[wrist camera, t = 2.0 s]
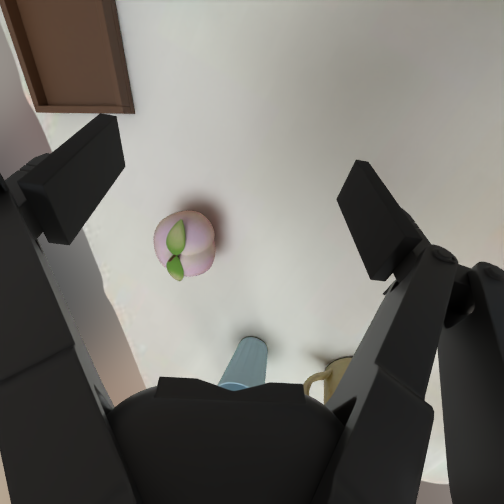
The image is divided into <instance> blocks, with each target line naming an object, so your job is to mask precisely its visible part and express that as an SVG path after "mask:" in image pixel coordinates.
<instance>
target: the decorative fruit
mask: <svg viewBox="0 0 504 504" xmlns="http://www.w3.org/2000/svg"><path fill="white" fill-rule="evenodd" d="M214 237H215V233H214V229H213V227H212V225H211V223H210V221H209V220H208V219H207V218H206V217H205V216H204V215H202V214H201V213H199V212H196V211H191V210H188V211H181V212H177V213H174V214H171V215H169V216H167V217H166V218H164V219H163V220H162V221H161V222H160V223H159V224H158V226H157V228H156V230H155V233H154V248H155V252H156V255H157V258H158V259H159V261H160V262H161V264H162V265H163V266H164V267H166V268H167V270H168V272H169V274H170V275H171V276H172V277H173V278H174V279H176V280H178V281H181V280H182V279H183V276H197V275H200V274H203V273H204V272H206V271H207V270H209V268H210V267H211V266H212V264H213V261H214V257H215V250H216V247H215V242H214Z"/></svg>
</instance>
